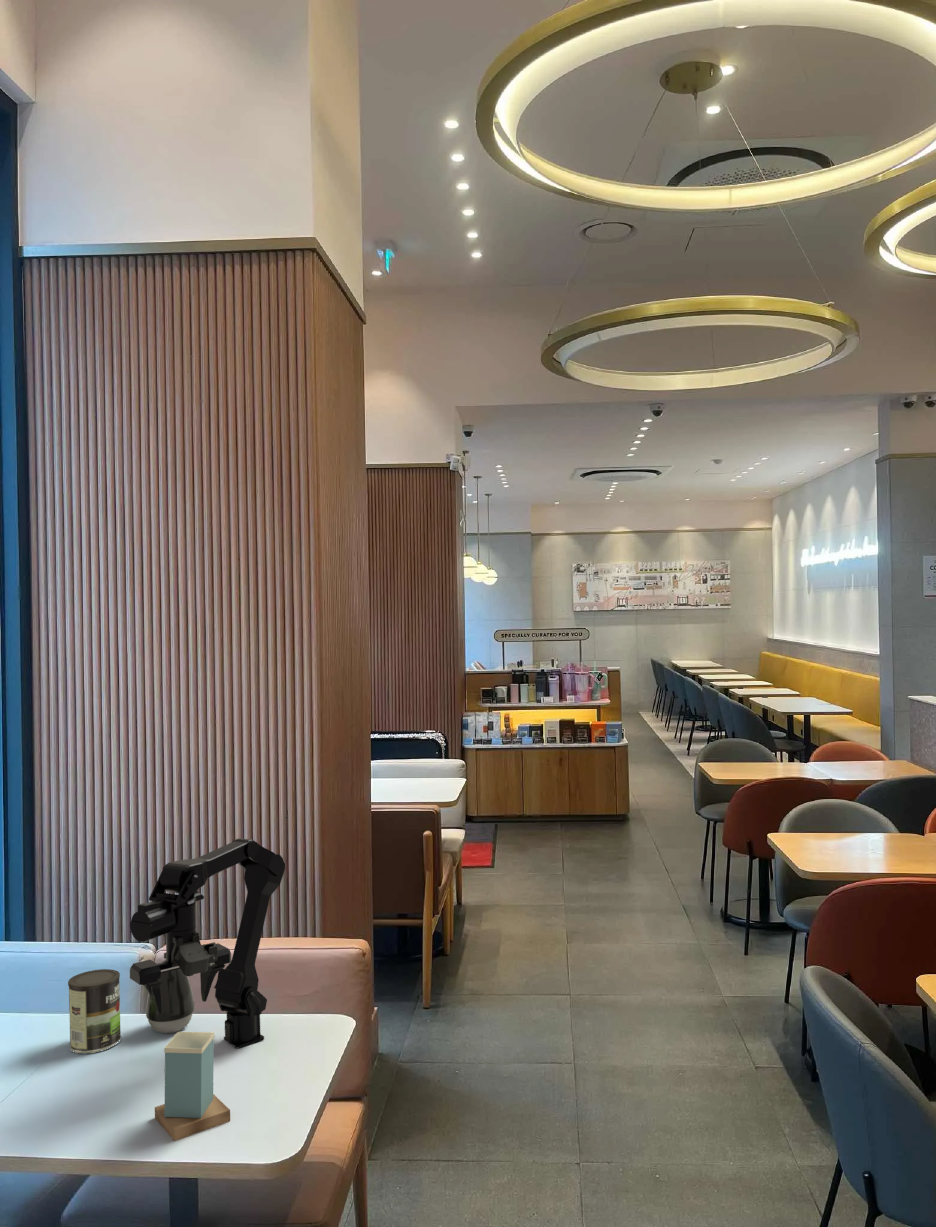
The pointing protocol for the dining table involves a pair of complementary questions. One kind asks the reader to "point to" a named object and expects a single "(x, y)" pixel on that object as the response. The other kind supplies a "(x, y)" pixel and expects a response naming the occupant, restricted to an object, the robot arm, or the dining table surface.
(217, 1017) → the dining table surface
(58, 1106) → the dining table surface
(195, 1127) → the block
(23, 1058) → the dining table surface
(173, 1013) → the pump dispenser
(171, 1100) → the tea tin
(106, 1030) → the coffee can
